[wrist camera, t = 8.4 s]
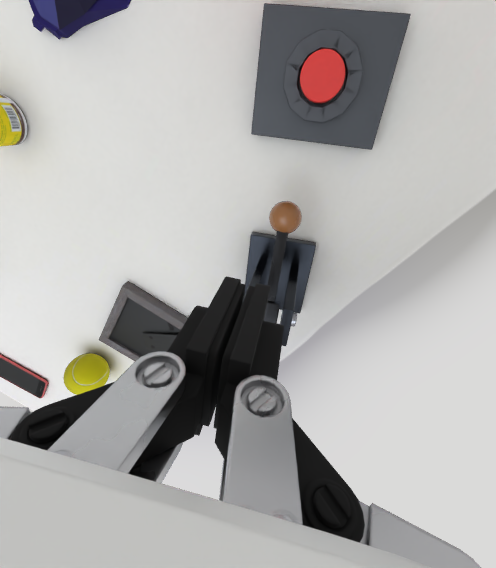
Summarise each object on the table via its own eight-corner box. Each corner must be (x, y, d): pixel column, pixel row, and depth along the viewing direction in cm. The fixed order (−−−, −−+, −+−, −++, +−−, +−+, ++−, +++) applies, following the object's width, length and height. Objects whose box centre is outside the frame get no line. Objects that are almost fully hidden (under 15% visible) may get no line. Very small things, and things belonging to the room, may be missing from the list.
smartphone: (-16, 348, 59) (47, 382, 61) (-13, 346, 60) (49, 380, 61) (-18, 367, 63) (41, 399, 64) (-16, 365, 63) (43, 397, 65)
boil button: (348, 55, 24) (350, 50, 23) (337, 105, 26) (339, 104, 25) (305, 51, 25) (304, 46, 23) (297, 100, 27) (296, 99, 25)
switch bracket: (252, 231, 37) (229, 272, 27) (316, 242, 36) (316, 288, 26) (244, 297, 42) (222, 353, 32) (300, 308, 41) (295, 369, 31)
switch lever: (273, 202, 31) (271, 195, 28) (303, 206, 31) (305, 200, 27) (251, 320, 32) (247, 327, 29) (280, 326, 32) (279, 334, 29)
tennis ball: (108, 379, 57) (84, 409, 51) (77, 359, 56) (49, 387, 50) (122, 361, 54) (98, 391, 48) (90, 339, 53) (61, 367, 47)
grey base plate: (403, 21, 25) (417, 5, 22) (368, 148, 30) (375, 151, 27) (267, 11, 27) (260, -6, 23) (255, 133, 32) (247, 134, 28)
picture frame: (227, 342, 47) (128, 281, 45) (223, 350, 45) (120, 287, 43) (191, 386, 53) (104, 334, 51) (187, 394, 52) (97, 341, 50)
